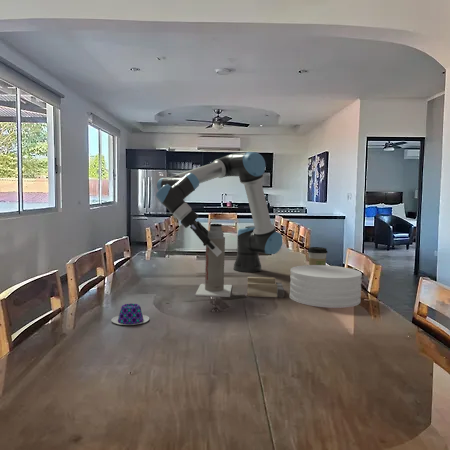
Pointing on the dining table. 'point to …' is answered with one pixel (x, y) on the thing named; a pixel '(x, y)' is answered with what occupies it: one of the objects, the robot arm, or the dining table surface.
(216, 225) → the thermos bottle
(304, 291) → the plate stack
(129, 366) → the dining table surface
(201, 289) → the grey mat
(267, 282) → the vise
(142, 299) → the dining table surface
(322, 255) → the coffee cup
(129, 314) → the pudding
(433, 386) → the dining table surface
